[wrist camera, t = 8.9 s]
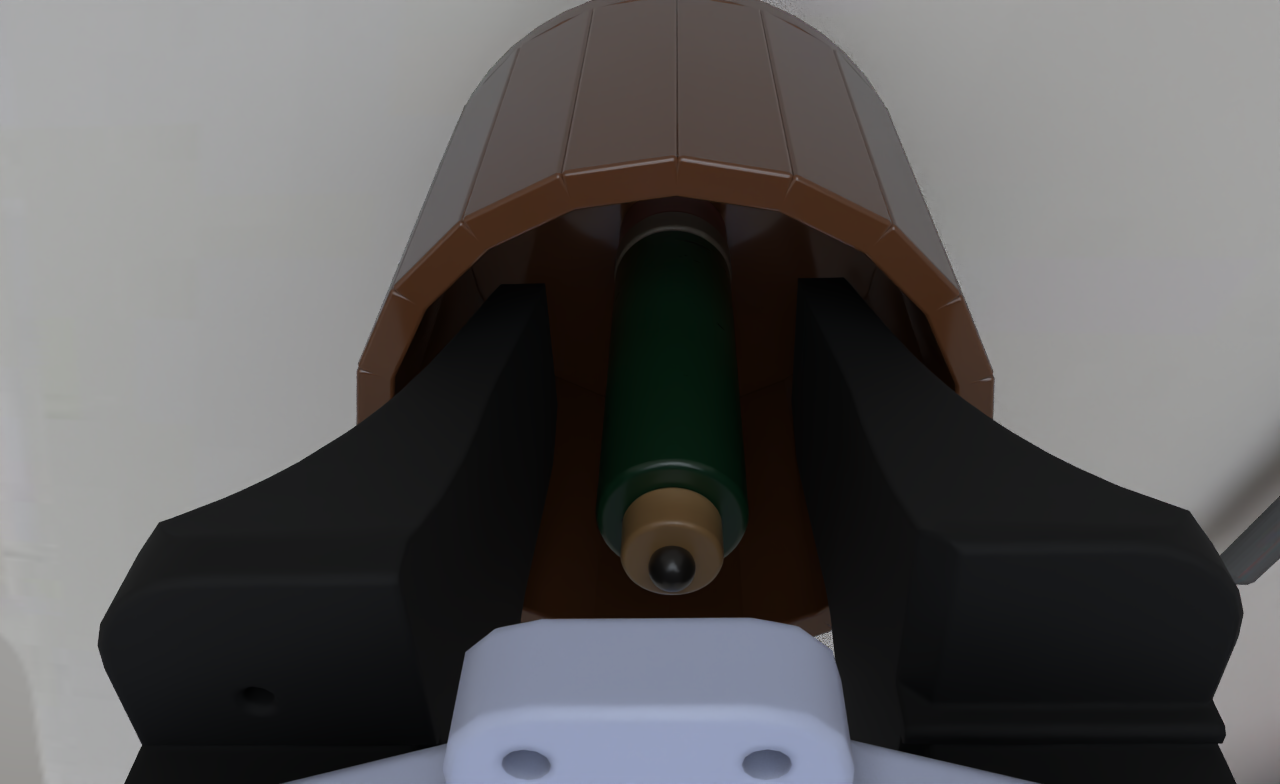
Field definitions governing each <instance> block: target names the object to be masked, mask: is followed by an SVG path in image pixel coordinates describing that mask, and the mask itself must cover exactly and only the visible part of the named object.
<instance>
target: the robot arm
mask: <svg viewBox="0 0 1280 784" xmlns="http://www.w3.org/2000/svg"><path fill="white" fill-rule="evenodd" d="M557 407H558V403H557V394H556V384H555V374H554V365H553V355H552V345H551V336H550V326H549V316H548V306H547V297H546V287H545V283H539V284H501V285H500V286H499V287H498V288H497V289H496V290H495V291H494V292H493V293H492V294H491V295H490V296H489V297H488V298H487V300H486V301H485V302H484V303H483V304H482V305H481V307H480V308H479V309H478V310H477V311H476V312H475V314H474V315H473V316H472V317H471V318H470V320H469V321H468V322H467V323H466V324H465V325H464V326H463V328H462V329H461V330H460V331H459V332H458V333H457V334H456V335H455V337H454V338H453V339H452V340H451V341H450V342H449V343H448V344H447V345H446V346H445V347H444V348H443V349H442V350H441V352H440V353H439V354H438V355H437V356H436V357H435V358H434V359H433V360H432V361H431V362H430V363H429V364H428V365H427V366H426V367H425V368H424V369H423V370H422V371H421V372H420V373H419V374H418V375H417V376H416V377H415V378H414V379H413V380H411V381H410V382H409V383H408V384H407V385H406V386H405V387H404V388H403V389H402V390H401V391H400V392H399V393H397V394H396V395H395V396H394V397H393V398H392V399H390V400H389V401H388V402H387V403H385V404H384V405H383V406H382V407H381V408H379V409H378V410H377V411H375V412H374V413H373V414H371V415H370V416H369V417H367V418H366V419H365V420H363V421H362V422H361V423H359V424H358V425H357V426H355V427H354V428H352V429H351V430H349V431H348V432H346V433H345V434H343V435H342V436H340V437H339V438H337V439H335V440H334V441H332V442H330V443H329V444H327V445H326V446H324V447H322V448H321V449H319V450H317V451H316V452H314V453H313V454H311V455H309V456H308V457H306V458H305V459H303V460H301V461H300V462H298V463H296V464H294V465H292V466H290V467H289V468H287V469H285V470H283V471H281V472H279V473H277V474H275V475H273V476H271V477H269V478H267V479H265V480H263V481H261V482H259V483H257V484H255V485H252V486H250V487H248V488H246V489H244V490H242V491H240V492H237V493H235V494H233V495H230V496H228V497H226V498H223V499H221V500H218V501H215V502H213V503H210V504H208V505H205V506H202V507H200V508H197V509H195V510H192V511H189V512H187V513H184V514H182V515H179V516H176V517H174V518H171V519H168V520H165V521H162V522H159V523H158V525H157V527H156V528H155V530H154V531H153V533H152V534H151V536H150V537H149V539H148V540H147V542H146V543H145V545H144V546H143V548H142V549H141V551H140V552H139V554H138V556H137V558H136V559H135V561H134V563H133V565H132V567H131V568H130V570H129V572H128V574H127V576H126V578H125V579H124V581H123V583H122V585H121V587H120V589H119V590H118V592H117V594H116V596H115V598H114V600H113V601H112V603H111V605H110V607H109V609H108V611H107V612H106V614H105V616H104V618H103V620H102V622H101V623H100V630H99V639H98V648H99V652H100V655H101V658H102V662H103V665H104V668H105V671H106V673H107V675H108V677H109V679H110V681H111V683H112V685H113V687H114V689H115V691H116V693H117V695H118V697H119V699H120V701H121V703H122V705H123V707H124V709H125V711H126V713H127V715H128V717H129V719H130V721H131V723H132V725H133V727H134V729H135V731H136V733H137V735H138V737H139V739H140V742H141V744H142V747H141V749H140V751H139V753H138V755H137V757H136V760H135V762H134V764H133V766H132V768H131V770H130V773H129V775H128V777H127V779H126V781H125V783H124V784H1236V782H1235V779H1234V777H1233V775H1232V773H1231V771H1230V769H1229V767H1228V765H1227V762H1226V760H1225V758H1224V756H1223V754H1222V752H1221V750H1220V748H1219V745H1218V743H1223V741H1224V738H1225V736H1226V732H1225V725H1224V723H1223V721H1222V719H1221V717H1220V715H1219V713H1218V710H1217V708H1216V706H1215V704H1214V702H1213V700H1212V699H1213V697H1214V694H1215V692H1216V689H1217V687H1218V685H1219V682H1220V680H1221V677H1222V675H1223V673H1224V670H1225V668H1226V665H1227V663H1228V661H1229V658H1230V656H1231V653H1232V651H1233V649H1234V646H1235V644H1236V641H1237V639H1238V636H1239V632H1240V627H1241V623H1242V618H1243V608H1242V603H1241V598H1240V593H1239V589H1238V588H1237V586H1236V584H1235V582H1234V581H1233V579H1232V577H1231V575H1230V573H1229V572H1228V570H1227V568H1226V566H1225V564H1224V562H1223V561H1222V559H1221V557H1220V556H1219V554H1218V552H1217V551H1216V549H1215V547H1214V546H1213V544H1212V542H1211V541H1210V540H1209V538H1208V537H1207V535H1206V534H1205V533H1204V531H1203V530H1202V528H1201V527H1200V526H1199V524H1198V523H1197V521H1196V520H1195V518H1194V517H1193V516H1192V514H1191V513H1190V511H1188V510H1185V509H1182V508H1179V507H1177V506H1174V505H1171V504H1168V503H1165V502H1162V501H1160V500H1157V499H1154V498H1151V497H1148V496H1145V495H1143V494H1140V493H1137V492H1134V491H1131V490H1128V489H1126V488H1123V487H1120V486H1118V485H1115V484H1113V483H1111V482H1108V481H1106V480H1104V479H1102V478H1099V477H1097V476H1095V475H1093V474H1090V473H1088V472H1086V471H1084V470H1081V469H1079V468H1077V467H1075V466H1073V465H1071V464H1069V463H1067V462H1065V461H1063V460H1061V459H1059V458H1057V457H1055V456H1053V455H1051V454H1049V453H1047V452H1046V451H1044V450H1042V449H1040V448H1039V447H1037V446H1035V445H1033V444H1032V443H1030V442H1028V441H1026V440H1025V439H1023V438H1021V437H1019V436H1018V435H1016V434H1014V433H1013V432H1011V431H1009V430H1008V429H1006V428H1005V427H1003V426H1001V425H1000V424H998V423H997V422H995V421H994V420H992V419H991V418H990V417H988V416H987V415H985V414H984V413H983V412H981V411H980V410H978V409H977V408H976V407H974V406H973V405H971V404H970V403H969V402H967V401H966V400H965V399H963V398H962V397H961V396H959V395H958V394H957V393H956V392H954V391H953V390H952V389H951V388H949V387H948V386H947V385H946V384H945V383H944V382H942V381H941V380H940V379H939V378H938V377H937V376H936V375H934V374H933V373H932V372H931V371H930V370H929V369H928V368H927V367H925V366H924V365H923V364H922V363H921V362H920V361H919V360H918V359H917V358H916V357H915V356H914V355H913V354H912V353H911V352H910V351H909V350H908V349H907V348H906V346H905V345H904V344H903V343H902V342H901V341H900V340H899V339H898V338H897V337H896V336H895V335H894V334H893V333H892V332H891V331H890V330H889V329H888V327H887V326H886V325H885V324H884V323H883V322H882V321H881V320H880V318H879V317H878V316H877V315H876V314H875V313H874V311H873V310H872V309H871V308H870V307H869V306H868V304H867V303H866V302H865V301H864V300H863V298H862V297H861V296H860V295H859V294H858V292H857V291H856V290H855V289H854V288H853V286H852V285H851V284H850V283H849V282H848V281H847V280H846V279H845V278H844V277H838V278H798V289H797V308H796V327H795V345H794V364H793V383H792V413H793V424H794V436H795V446H796V457H797V464H798V469H799V473H800V478H801V482H802V487H803V491H804V496H805V500H806V505H807V509H808V514H809V518H810V522H811V527H812V531H813V535H814V540H815V544H816V548H817V553H818V557H819V562H820V566H821V570H822V575H823V579H824V583H825V588H826V593H827V599H828V605H829V610H830V616H831V625H832V634H833V643H834V652H835V658H834V655H833V652H832V650H831V649H830V648H828V647H827V646H826V645H824V644H823V643H821V642H820V641H818V640H817V639H816V638H814V637H813V636H811V635H810V634H809V633H807V632H806V631H804V630H803V629H801V628H800V627H798V626H794V625H790V624H784V623H778V622H773V621H767V620H761V619H756V618H605V619H540V620H535V621H530V622H525V623H521V615H522V609H523V603H524V597H525V591H526V587H527V582H528V578H529V573H530V569H531V564H532V559H533V555H534V550H535V546H536V541H537V537H538V532H539V528H540V523H541V519H542V514H543V509H544V505H545V500H546V495H547V491H548V486H549V481H550V477H551V472H552V467H553V458H554V447H555V435H556V421H557ZM835 661H836V662H835Z"/></svg>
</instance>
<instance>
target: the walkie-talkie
mask: <svg viewBox="0 0 1280 784" xmlns="http://www.w3.org/2000/svg"><path fill="white" fill-rule="evenodd" d="M1220 557H1221V559H1222V561H1223V562H1224V564H1225V566H1226V568H1227V570H1228V572H1229V573H1230V575H1231V577H1232V579H1233V581H1234V582H1235V584H1239V585H1248V584H1250V583H1253V582H1255V581H1256V580H1257V579H1258V578H1259V577H1260V576H1261V575H1262V574H1263V573H1264V572H1266V571H1267V570H1268V569H1269V568H1270V567H1271V566H1272V565H1273V564H1274V563H1275V562H1276V561H1277V560H1278V559H1279V558H1280V496H1279V497H1278V498H1277V499H1276V500H1275V501H1274V502H1273V503H1272V504H1271V505H1270V506H1269V507H1268V508H1267V509H1266V510H1265V511H1264V512H1263V513H1262V514H1261V515H1260V516H1259V517H1258V518H1257V519H1256V520H1255V521H1254V522H1253V523H1252V524H1251V525H1250V526H1249V527H1248V528H1247V529H1246V530H1245V531H1244V532H1243V533H1242V534H1241V535H1240V536H1239V537H1238V538H1237V539H1236V540H1235V541H1234V542H1233V543H1232V544H1231V545H1230V546H1229V547H1228V548H1227V549H1226V550H1225V551H1224V552H1223V553H1222V554H1221V555H1220Z"/></svg>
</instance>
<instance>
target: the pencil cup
mask: <svg viewBox="0 0 1280 784" xmlns="http://www.w3.org/2000/svg"><path fill="white" fill-rule="evenodd" d="M675 196H678V197H685V198H691V199H698V200H704V201H709V202H710V203H711V204H712V205H713V206H714V207H715V208H716V209H717V210H718V212H719V213H720V215H721V217H722V218H723V221H724V223H725V227H726V232H727V244H728V248H729V252H730V257H731V269H732V281H731V294H732V307H733V319H734V332H735V344H736V357H737V370H738V382H739V395H740V407H741V420H742V432H743V445H744V457H745V470H746V483H747V495H748V508H749V520H748V525H747V529H746V531H745V533H744V535H743V537H742V539H741V541H740V542H739V544H738V545H737V547H736V548H735V549H734V550H733V551H732V552H731V553H730V554H729V555H727V556H726V557H725V558H724V561H723V565H722V567H721V569H720V571H719V573H718V574H717V576H716V577H715V578H714V579H713V581H711V582H710V583H709V584H708V585H706V586H705V587H703V588H701V589H699V590H697V591H694V592H691V593H687V594H681V595H665V594H659V593H654V592H651V591H648V590H646V589H644V588H642V587H640V586H639V585H637V584H636V583H634V582H633V581H632V580H631V579H630V578H629V576H628V575H627V574H626V572H625V570H624V568H623V566H622V563H621V558H620V557H619V556H618V555H617V554H615V553H614V552H613V551H612V550H611V549H610V547H609V546H608V545H607V544H606V542H605V540H604V539H603V537H602V535H601V533H600V531H599V528H598V526H597V521H596V502H597V490H598V479H599V467H600V456H601V444H602V432H603V421H604V409H605V397H606V386H607V374H608V363H609V351H610V339H611V328H612V316H613V304H614V293H615V280H614V269H615V259H616V253H617V249H618V246H619V235H620V228H621V225H622V222H623V220H624V217H625V216H626V214H627V213H628V211H629V210H630V209H631V208H632V206H633V205H634V204H636V203H637V202H638V201H645V200H653V199H660V198H667V197H675ZM838 277H844V278H845V279H846V280H847V281H848V282H849V283H850V284H851V285H852V286H853V288H854V289H855V290H856V291H857V292H858V294H859V295H860V296H861V297H862V298H863V300H864V301H865V302H866V303H867V304H868V306H869V307H870V308H871V309H872V310H873V311H874V313H875V314H876V315H877V316H878V317H879V318H880V320H881V321H882V322H883V323H884V324H885V325H886V326H887V327H888V329H889V330H890V331H891V332H892V333H893V334H894V335H895V336H896V337H897V338H898V339H899V340H900V341H901V342H902V343H903V344H904V345H905V346H906V348H907V349H908V350H909V351H910V352H911V353H912V354H913V355H914V356H915V357H916V358H917V359H918V360H919V361H920V362H921V363H922V364H923V365H924V366H925V367H927V368H928V369H929V370H930V371H931V372H932V373H933V374H934V375H936V376H937V377H938V378H939V379H940V380H941V381H942V382H944V383H945V384H946V385H947V386H948V387H949V388H951V389H952V390H953V391H954V392H956V393H957V394H958V395H959V396H961V397H962V398H963V399H965V400H966V401H967V402H969V403H970V404H971V405H973V406H974V407H976V408H977V409H978V410H980V411H981V412H983V413H984V414H985V415H987V416H988V417H990V418H991V419H992V420H993V412H994V382H995V378H994V376H993V369H992V366H991V364H990V361H989V359H988V356H987V354H986V351H985V349H984V346H983V344H982V341H981V339H980V336H979V334H978V331H977V329H976V326H975V324H974V321H973V318H972V316H971V313H970V311H969V308H968V306H967V303H966V301H965V298H964V296H963V293H962V291H961V288H960V286H959V284H958V281H957V279H956V276H955V274H954V271H953V269H952V266H951V264H950V261H949V259H948V256H947V254H946V252H945V249H944V247H943V244H942V242H941V239H940V237H939V234H938V232H937V229H936V227H935V225H934V222H933V220H932V217H931V215H930V212H929V210H928V207H927V205H926V202H925V200H924V198H923V195H922V193H921V190H920V188H919V185H918V183H917V180H916V178H915V175H914V173H913V171H912V168H911V166H910V163H909V161H908V158H907V156H906V153H905V151H904V148H903V146H902V143H901V141H900V139H899V136H898V134H897V131H896V129H895V126H894V124H893V121H892V119H891V116H890V114H889V112H888V109H887V108H886V107H885V105H884V103H883V102H882V100H881V98H880V97H879V95H878V94H877V92H876V91H875V89H874V88H873V86H872V84H871V83H870V81H869V80H868V78H867V77H866V76H865V75H864V73H863V72H862V71H861V70H860V69H859V68H858V67H857V65H856V64H855V63H854V62H853V61H852V60H851V59H850V57H849V56H848V55H847V54H846V53H845V52H844V51H842V50H841V49H840V48H839V47H838V46H837V45H835V44H834V43H833V42H832V41H831V40H830V39H828V38H827V37H826V36H825V35H824V34H823V33H821V32H820V31H818V30H816V29H815V28H813V27H812V26H810V25H809V24H807V23H805V22H804V21H802V20H801V19H799V18H797V17H796V16H794V15H792V14H790V13H788V12H785V11H783V10H781V9H779V8H777V7H774V6H772V5H770V4H768V3H766V2H763V1H760V0H591V1H589V2H586V3H584V4H582V5H579V6H577V7H574V8H572V9H569V10H567V11H564V12H563V13H561V14H559V15H558V16H556V17H554V18H552V19H551V20H549V21H547V22H545V23H544V24H542V25H540V26H538V27H537V28H535V29H534V30H533V31H531V32H530V33H529V34H528V35H526V36H525V37H524V38H522V39H521V40H520V41H519V42H517V43H516V44H515V45H513V46H512V47H511V48H510V49H509V50H508V51H507V52H506V53H505V54H504V55H503V56H502V57H501V58H500V59H499V60H498V61H497V62H496V63H495V65H494V66H493V67H492V68H491V69H490V70H489V71H488V72H487V74H486V75H485V77H484V78H483V79H482V81H481V82H480V83H479V85H478V86H477V88H476V89H475V90H474V92H473V93H472V95H471V96H470V98H469V100H468V102H467V104H466V105H465V106H464V108H463V111H462V113H461V115H460V118H459V120H458V122H457V124H456V126H455V129H454V131H453V134H452V136H451V139H450V141H449V143H448V146H447V148H446V150H445V153H444V155H443V157H442V160H441V162H440V164H439V167H438V169H437V172H436V174H435V176H434V179H433V181H432V184H431V186H430V189H429V191H428V194H427V196H426V198H425V201H424V203H423V206H422V208H421V211H420V213H419V216H418V218H417V220H416V223H415V225H414V228H413V230H412V233H411V235H410V238H409V240H408V242H407V245H406V247H405V250H404V252H403V255H402V257H401V260H400V262H399V264H398V267H397V269H396V272H395V274H394V277H393V279H392V282H391V284H390V287H389V289H388V291H387V294H386V296H385V299H384V301H383V304H382V306H381V309H380V311H379V313H378V316H377V318H376V321H375V323H374V326H373V328H372V331H371V333H370V335H369V338H368V340H367V343H366V345H365V348H364V350H363V353H362V355H361V357H360V360H359V362H358V369H357V417H356V426H357V425H358V424H359V423H361V422H362V421H363V420H365V419H366V418H367V417H369V416H370V415H371V414H373V413H374V412H375V411H377V410H378V409H379V408H381V407H382V406H383V405H384V404H385V403H387V402H388V401H389V400H390V399H392V398H393V397H394V396H395V395H396V394H397V393H399V392H400V391H401V390H402V389H403V388H404V387H405V386H406V385H407V384H408V383H409V382H410V381H411V380H413V379H414V378H415V377H416V376H417V375H418V374H419V373H420V372H421V371H422V370H423V369H424V368H425V367H426V366H427V365H428V364H429V363H430V362H431V361H432V360H433V359H434V358H435V357H436V356H437V355H438V354H439V353H440V352H441V350H442V349H443V348H444V347H445V346H446V345H447V344H448V343H449V342H450V341H451V340H452V339H453V338H454V337H455V335H456V334H457V333H458V332H459V331H460V330H461V329H462V328H463V326H464V325H465V324H466V323H467V322H468V321H469V320H470V318H471V317H472V316H473V315H474V314H475V312H476V311H477V310H478V309H479V308H480V307H481V305H482V304H483V303H484V302H485V301H486V300H487V298H488V297H489V296H490V295H491V294H492V293H493V292H494V291H495V290H496V289H497V288H498V287H499V286H500V285H501V284H539V283H545V287H546V297H547V306H548V316H549V326H550V336H551V345H552V355H553V365H554V374H555V384H556V394H557V403H558V407H557V421H556V435H555V447H554V458H553V467H552V472H551V477H550V481H549V486H548V491H547V495H546V500H545V505H544V509H543V514H542V519H541V523H540V528H539V532H538V537H537V541H536V546H535V550H534V555H533V559H532V564H531V569H530V573H529V578H528V582H527V587H526V591H525V597H524V603H523V609H522V615H521V623H525V622H530V621H535V620H540V619H605V618H756V619H761V620H767V621H773V622H778V623H784V624H790V625H794V626H798V627H800V628H801V629H803V630H804V631H806V632H807V633H809V634H810V635H811V636H813V637H815V636H818V635H821V634H824V633H828V632H830V631H832V625H831V616H830V610H829V605H828V599H827V593H826V588H825V583H824V579H823V575H822V570H821V566H820V562H819V557H818V553H817V548H816V544H815V540H814V535H813V531H812V527H811V522H810V518H809V514H808V509H807V505H806V500H805V496H804V491H803V487H802V482H801V478H800V473H799V469H798V464H797V457H796V446H795V436H794V424H793V413H792V383H793V364H794V345H795V327H796V308H797V289H798V278H838Z"/></svg>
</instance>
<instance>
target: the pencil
mask: <svg viewBox="0 0 1280 784" xmlns="http://www.w3.org/2000/svg"><path fill="white" fill-rule="evenodd" d="M614 280H615V293H614V304H613V316H612V328H611V339H610V351H609V363H608V374H607V386H606V397H605V409H604V421H603V432H602V444H601V456H600V467H599V479H598V490H597V502H596V521H597V526H598V528H599V531H600V533H601V535H602V537H603V539H604V540H605V542H606V544H607V545H608V546H609V547H610V549H611V550H612V551H613V552H614V553H615V554H617V555H618V556H619V557H620V558H621V563H622V566H623V568H624V570H625V572H626V574H627V575H628V576H629V578H630V579H631V580H632V581H633V582H634V583H636V584H637V585H639V586H640V587H642V588H644V589H646V590H648V591H651V592H654V593H659V594H665V595H681V594H687V593H691V592H694V591H697V590H699V589H701V588H703V587H705V586H706V585H708V584H709V583H710V582H711V581H713V579H714V578H715V577H716V576H717V574H718V573H719V571H720V569H721V567H722V565H723V561H724V558H725V557H726V556H727V555H729V554H730V553H731V552H732V551H733V550H734V549H735V548H736V547H737V545H738V544H739V542H740V541H741V539H742V537H743V535H744V533H745V531H746V529H747V525H748V520H749V508H748V495H747V483H746V470H745V457H744V445H743V432H742V420H741V407H740V395H739V382H738V370H737V357H736V344H735V332H734V319H733V307H732V294H731V281H732V269H731V257H730V252H729V248H728V244H727V232H726V227H725V223H724V221H723V218H722V217H721V215H720V213H719V212H718V210H717V209H716V208H715V207H714V206H713V205H712V204H711V203H710V202H709V201H704V200H698V199H691V198H685V197H678V196H675V197H667V198H660V199H653V200H645V201H638V202H637V203H636V204H634V205H633V206H632V208H631V209H630V210H629V211H628V213H627V214H626V216H625V217H624V220H623V222H622V225H621V228H620V235H619V246H618V249H617V253H616V259H615V269H614Z"/></svg>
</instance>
